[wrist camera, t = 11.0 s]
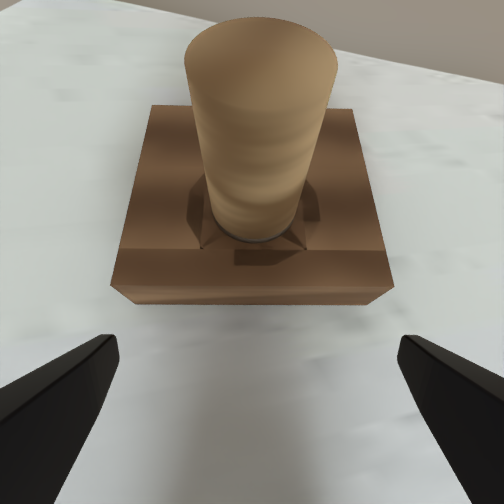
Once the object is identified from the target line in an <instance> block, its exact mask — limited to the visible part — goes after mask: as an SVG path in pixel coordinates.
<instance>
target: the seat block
mask: <svg viewBox="0 0 504 504" xmlns="http://www.w3.org/2000/svg"><path fill="white" fill-rule="evenodd" d="M110 286H112V287H113V288H114V289H116V290H117V291H118V292H120V293H121V294H122V295H124V296H125V297H127V298H128V299H129V300H131V301H132V302H133V303H135V304H184V305H368V304H369V303H371V302H372V301H374V300H375V299H377V298H378V297H380V296H381V295H383V294H384V293H386V292H387V291H389V290H390V289H392V288H393V287H394V283H393V279H392V275H391V270H390V266H389V262H388V258H387V254H386V249H385V245H384V241H383V237H382V233H381V228H380V224H379V220H378V216H377V212H376V207H375V203H374V199H373V195H372V191H371V186H370V182H369V178H368V174H367V170H366V165H365V161H364V157H363V153H362V149H361V144H360V140H359V136H358V132H357V128H356V123H355V119H354V115H353V111H352V109H326V111H325V115H324V118H323V122H322V125H321V128H320V132H319V135H318V138H317V142H316V145H315V149H314V152H313V155H312V159H311V162H310V166H309V169H308V172H307V176H306V179H305V183H304V186H303V189H302V193H301V196H300V200H299V203H298V206H297V211H296V214H295V218H294V220H293V223H292V224H291V226H290V227H289V229H288V230H287V231H286V232H285V233H284V234H282V235H281V236H279V237H278V238H276V239H274V240H271V241H268V242H264V243H245V242H241V241H238V240H235V239H233V238H231V237H229V236H228V235H226V234H225V233H224V232H223V231H222V230H221V229H220V228H219V227H218V226H217V224H216V222H215V220H214V218H213V214H212V209H211V202H210V197H209V192H208V186H207V181H206V176H205V170H204V165H203V160H202V154H201V149H200V144H199V138H198V133H197V128H196V122H195V117H194V112H193V106H173V105H152V108H151V112H150V116H149V120H148V125H147V129H146V133H145V138H144V142H143V146H142V150H141V155H140V159H139V163H138V168H137V172H136V176H135V181H134V185H133V189H132V193H131V198H130V202H129V206H128V211H127V215H126V219H125V224H124V228H123V232H122V236H121V241H120V245H119V249H118V254H117V258H116V262H115V267H114V271H113V275H112V279H111V284H110Z"/></svg>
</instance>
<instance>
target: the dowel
mask: <svg viewBox="0 0 504 504" xmlns="http://www.w3.org/2000/svg"><path fill="white" fill-rule="evenodd" d="M184 64H185V69H186V74H187V80H188V85H189V90H190V96H191V101H192V106H193V112H194V117H195V122H196V128H197V133H198V138H199V144H200V149H201V154H202V160H203V165H204V170H205V176H206V181H207V186H208V192H209V197H210V202H211V209H212V214H213V218H214V220H215V222H216V224H217V226H218V227H219V228H220V229H221V230H222V231H223V232H224V233H225V234H226V235H228V236H229V237H231V238H233V239H235V240H238V241H241V242H245V243H264V242H268V241H271V240H274V239H276V238H278V237H279V236H281V235H282V234H284V233H285V232H286V231H287V230H288V229H289V227H290V226H291V224H292V223H293V220H294V218H295V214H296V211H297V206H298V203H299V200H300V196H301V193H302V189H303V186H304V183H305V179H306V176H307V172H308V169H309V166H310V162H311V159H312V155H313V152H314V149H315V145H316V142H317V138H318V135H319V132H320V128H321V125H322V122H323V118H324V115H325V111H326V108H327V105H328V101H329V98H330V94H331V91H332V88H333V84H334V81H335V77H336V74H337V70H338V62H337V57H336V55H335V52H334V51H333V49H332V47H331V46H330V45H329V44H328V43H327V41H325V40H324V39H323V38H322V37H321V36H320V35H318V34H317V33H315V32H313V31H312V30H310V29H308V28H306V27H304V26H301V25H299V24H296V23H293V22H289V21H285V20H280V19H275V18H265V17H250V18H239V19H233V20H229V21H225V22H222V23H219V24H216V25H214V26H212V27H209V28H208V29H206V30H204V31H203V32H201V33H200V34H199V35H197V36H196V37H195V38H194V39H193V40H192V42H191V43H190V44H189V46H188V48H187V50H186V53H185V57H184Z"/></svg>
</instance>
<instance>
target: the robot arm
mask: <svg viewBox="0 0 504 504" xmlns="http://www.w3.org/2000/svg"><path fill="white" fill-rule="evenodd" d="M119 359H120V356H119V350H118V344H117V339H116V336H115V335H113V334H101V335H99V336H97V337H95V338H93V339H91V340H89V341H87V342H86V343H84V344H82V345H80V346H78V347H76V348H75V349H73V350H71V351H69V352H67V353H65V354H63V355H62V356H60V357H58V358H56V359H54V360H52V361H50V362H49V363H47V364H45V365H43V366H41V367H39V368H37V369H36V370H34V371H32V372H30V373H28V374H26V375H25V376H23V377H21V378H19V379H17V380H15V381H13V382H12V383H10V384H8V385H6V386H4V387H2V388H0V504H54V502H55V500H56V498H57V496H58V494H59V492H60V490H61V488H62V486H63V484H64V482H65V480H66V478H67V476H68V474H69V472H70V470H71V468H72V466H73V464H74V462H75V461H76V459H77V457H78V455H79V453H80V451H81V449H82V447H83V445H84V443H85V441H86V439H87V437H88V435H89V433H90V431H91V429H92V427H93V425H94V423H95V421H96V419H97V417H98V415H99V413H100V410H101V408H102V406H103V403H104V401H105V398H106V395H107V393H108V390H109V388H110V385H111V382H112V380H113V377H114V375H115V372H116V370H117V367H118V364H119ZM397 361H398V365H399V367H400V369H401V371H402V374H403V376H404V378H405V380H406V383H407V385H408V387H409V389H410V391H411V394H412V396H413V398H414V400H415V402H416V405H417V407H418V409H419V411H420V413H421V415H422V416H423V418H424V420H425V422H426V424H427V425H428V427H429V429H430V431H431V432H432V434H433V436H434V438H435V439H436V441H437V443H438V445H439V446H440V448H441V450H442V452H443V453H444V455H445V457H446V459H447V461H448V462H449V464H450V466H451V468H452V469H453V471H454V473H455V475H456V476H457V478H458V480H459V482H460V483H461V485H462V487H463V489H464V490H465V492H466V494H467V496H468V497H469V499H470V501H471V503H472V504H504V378H503V377H501V376H499V375H497V374H495V373H493V372H491V371H489V370H487V369H485V368H483V367H481V366H479V365H477V364H475V363H473V362H471V361H469V360H467V359H465V358H463V357H461V356H459V355H457V354H455V353H453V352H451V351H448V350H446V349H444V348H442V347H440V346H438V345H436V344H434V343H432V342H430V341H428V340H426V339H424V338H422V337H420V336H418V335H404V336H402V338H401V341H400V346H399V350H398V355H397Z"/></svg>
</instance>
